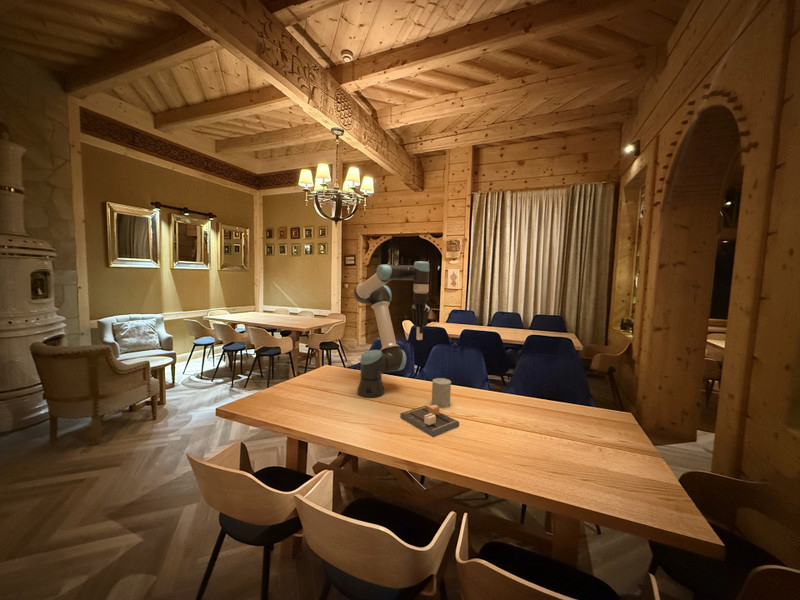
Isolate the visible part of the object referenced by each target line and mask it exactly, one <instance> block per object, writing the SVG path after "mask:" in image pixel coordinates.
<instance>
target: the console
mask: <svg viewBox="0 0 800 600" xmlns="http://www.w3.org/2000/svg"><path fill="white" fill-rule="evenodd" d="M428 407H429V406H427V405H423V406H420V407H417V408H416V407H415V408H413V409H410V410H407V411H404V412H401V413H400V414H399V417H400V419H402V420H404V421H405V422H407V423H408V424H411V426H414V427H416V428H418V429H419V430H420V431H422V432H424V433H426V434H427V435H429V436H431V437H432V438H434V437H437V436H439V435H441V434H443V433H446V432H448V431H451V430H454V429H456V428H458V427H460V421H459V420H456V419H454V418H452V417H450V416H448V415H446V414H444V413H442V412H440V411H439V414H436V415H435V416H436V423H434V424H431V425H427V424H426V423H424V416H425V415H428Z"/></svg>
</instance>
